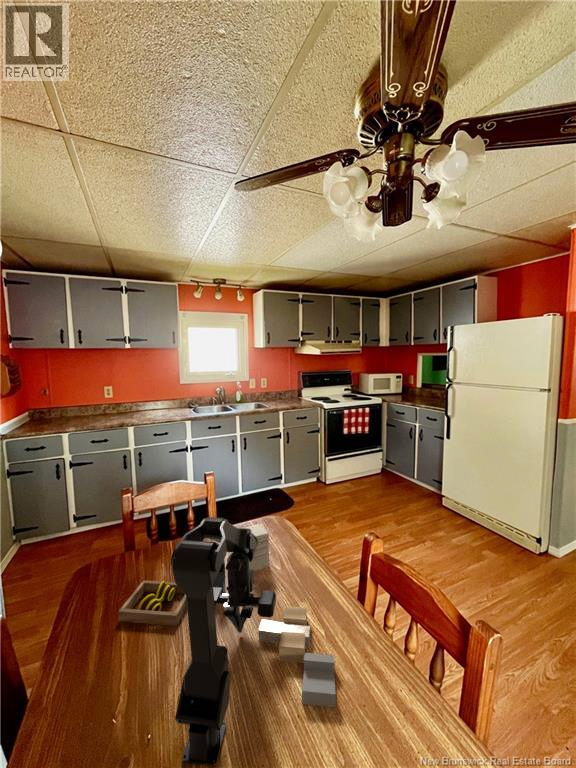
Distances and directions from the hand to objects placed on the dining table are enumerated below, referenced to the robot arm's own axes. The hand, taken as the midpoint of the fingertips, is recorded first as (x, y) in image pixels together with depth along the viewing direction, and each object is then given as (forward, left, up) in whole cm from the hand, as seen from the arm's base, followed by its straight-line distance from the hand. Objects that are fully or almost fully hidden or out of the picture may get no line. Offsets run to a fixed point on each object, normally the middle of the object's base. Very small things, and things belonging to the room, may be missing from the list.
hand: (240, 631), depth 81 cm
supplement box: (+28, +2, -1) cm, 28 cm away
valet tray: (+7, +27, -1) cm, 28 cm away
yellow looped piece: (+7, +27, -1) cm, 28 cm away
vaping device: (+13, +11, -1) cm, 17 cm away
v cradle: (-10, -21, -1) cm, 23 cm away
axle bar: (0, -12, -1) cm, 12 cm away
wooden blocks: (0, -14, -1) cm, 14 cm away
